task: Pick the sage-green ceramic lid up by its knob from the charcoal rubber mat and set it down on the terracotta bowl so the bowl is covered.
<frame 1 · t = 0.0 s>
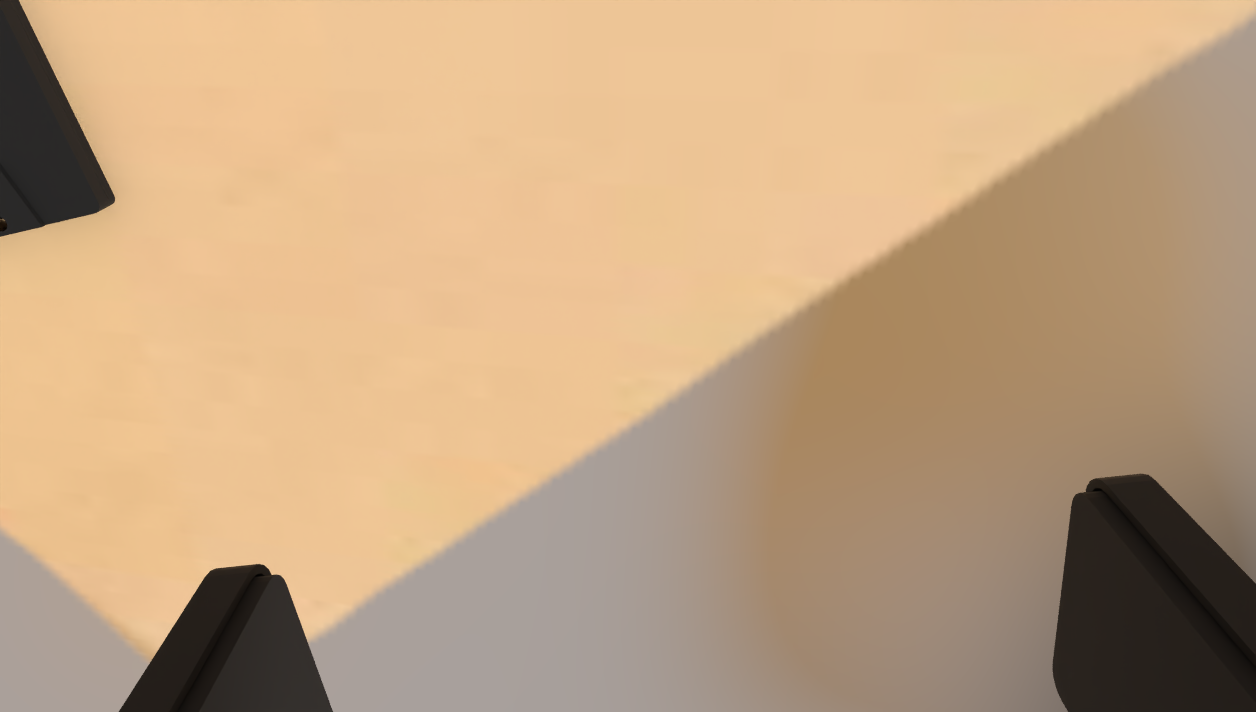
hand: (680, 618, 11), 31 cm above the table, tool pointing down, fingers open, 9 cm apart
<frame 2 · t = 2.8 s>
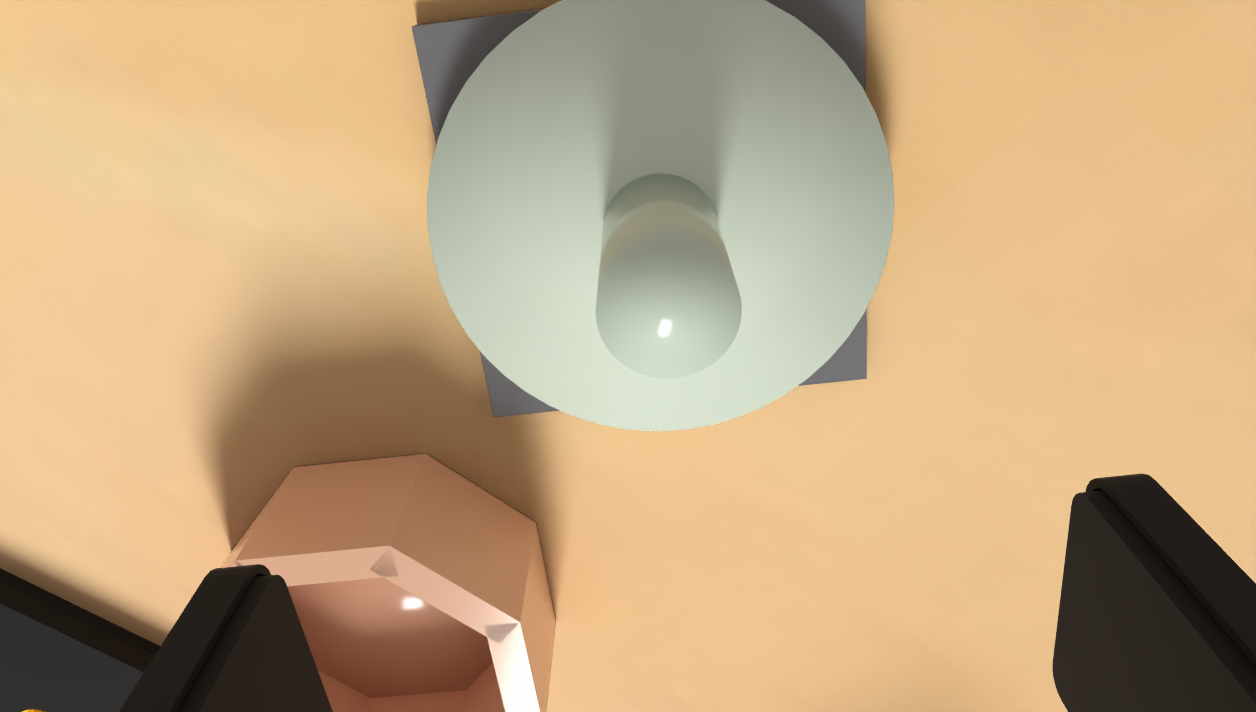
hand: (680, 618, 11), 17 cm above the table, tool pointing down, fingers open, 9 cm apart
bowl: (396, 588, 33), on the table
mat: (658, 212, 26), on the table
lid: (658, 217, 26), point 1 cm above the table, touching mat
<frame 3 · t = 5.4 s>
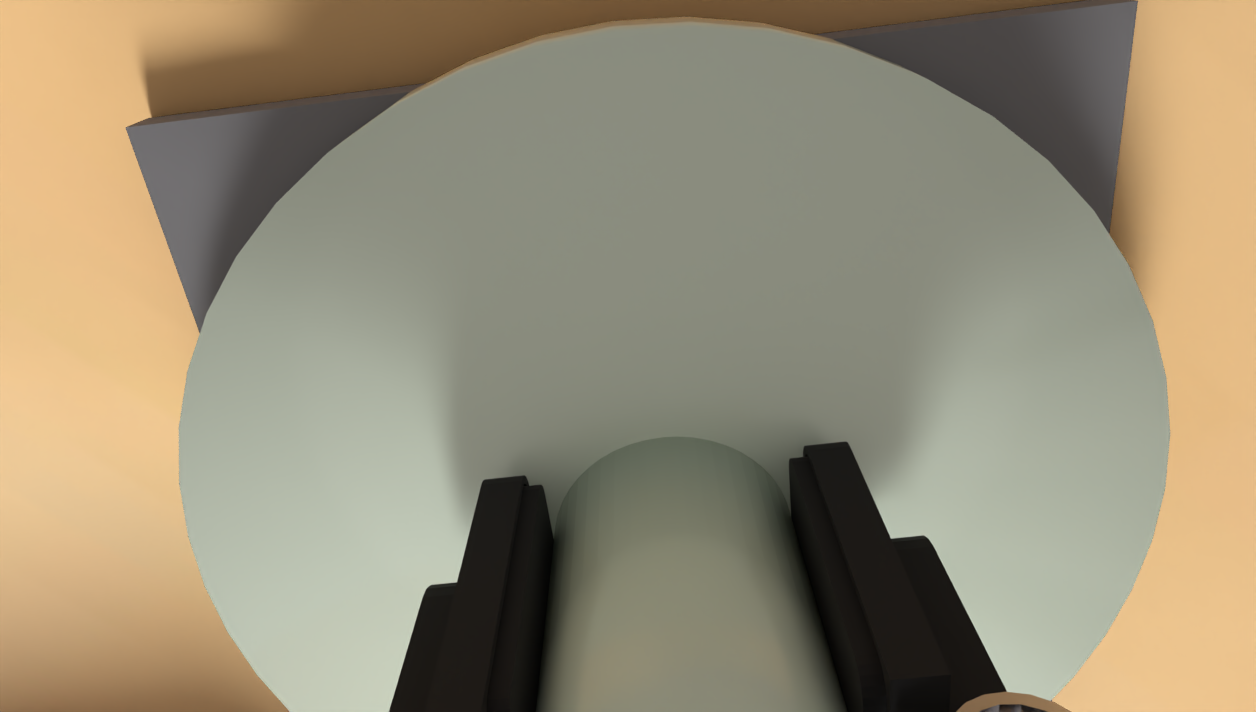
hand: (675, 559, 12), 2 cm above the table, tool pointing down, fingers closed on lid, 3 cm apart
mat: (666, 466, 14), on the table
lid: (668, 488, 13), point 1 cm above the table, touching gripper, mat
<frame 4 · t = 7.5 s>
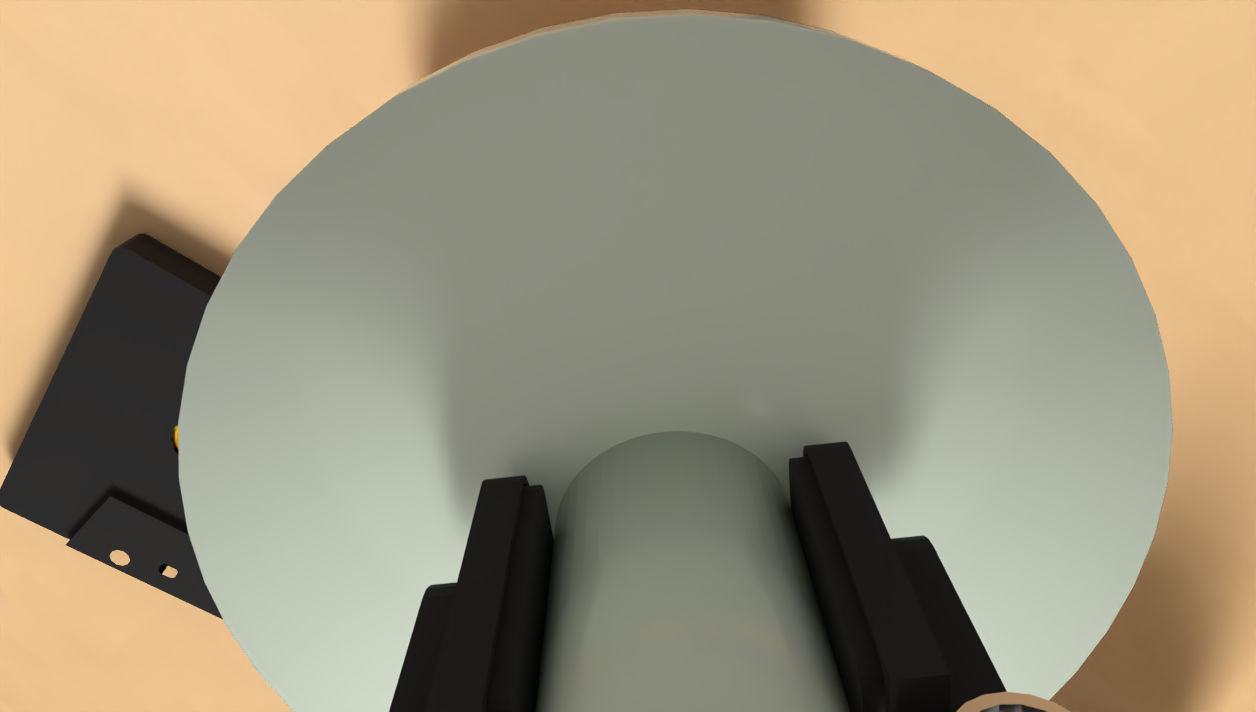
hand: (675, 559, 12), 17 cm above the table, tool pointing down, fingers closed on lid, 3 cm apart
lid: (669, 483, 13), point 16 cm above the table, touching gripper
cassette tape: (322, 480, 33), on the table
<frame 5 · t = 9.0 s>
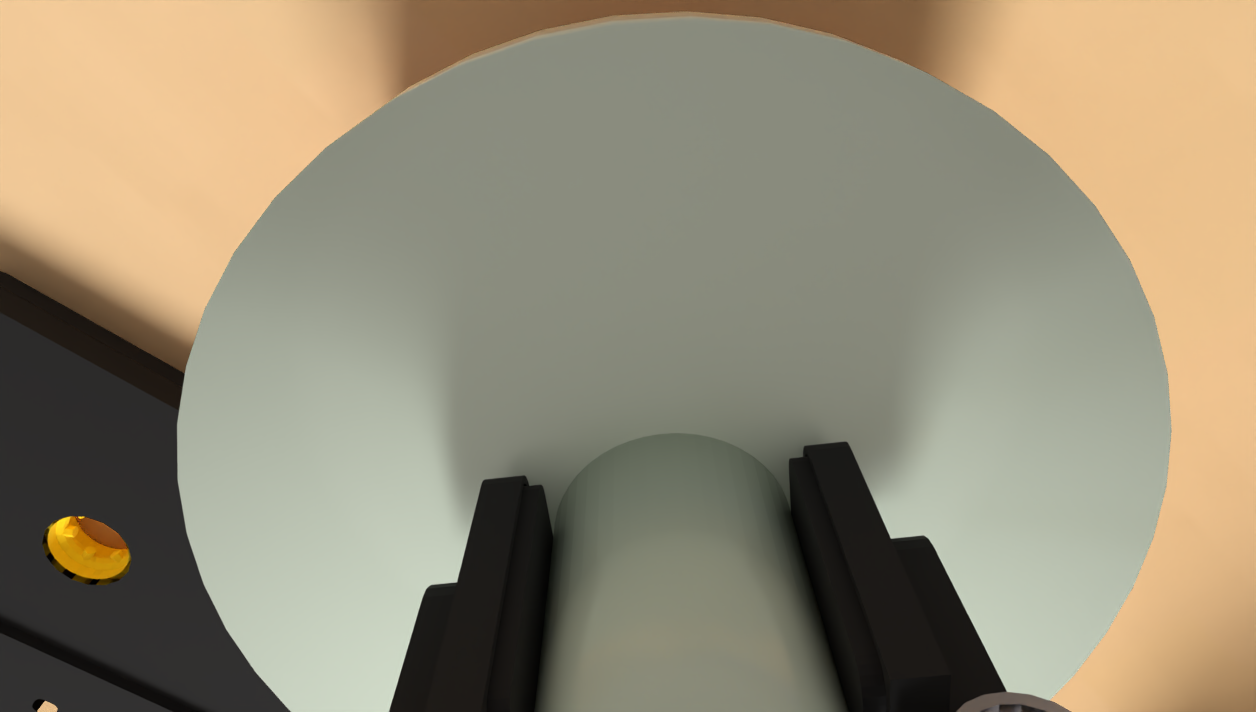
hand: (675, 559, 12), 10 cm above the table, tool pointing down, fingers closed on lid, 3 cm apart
lid: (668, 485, 13), point 8 cm above the table, touching gripper
cassette tape: (253, 586, 25), on the table
when the fingers open (8 cm above the table, at t = 10.1 s): lid stays where it is, resting on bowl.
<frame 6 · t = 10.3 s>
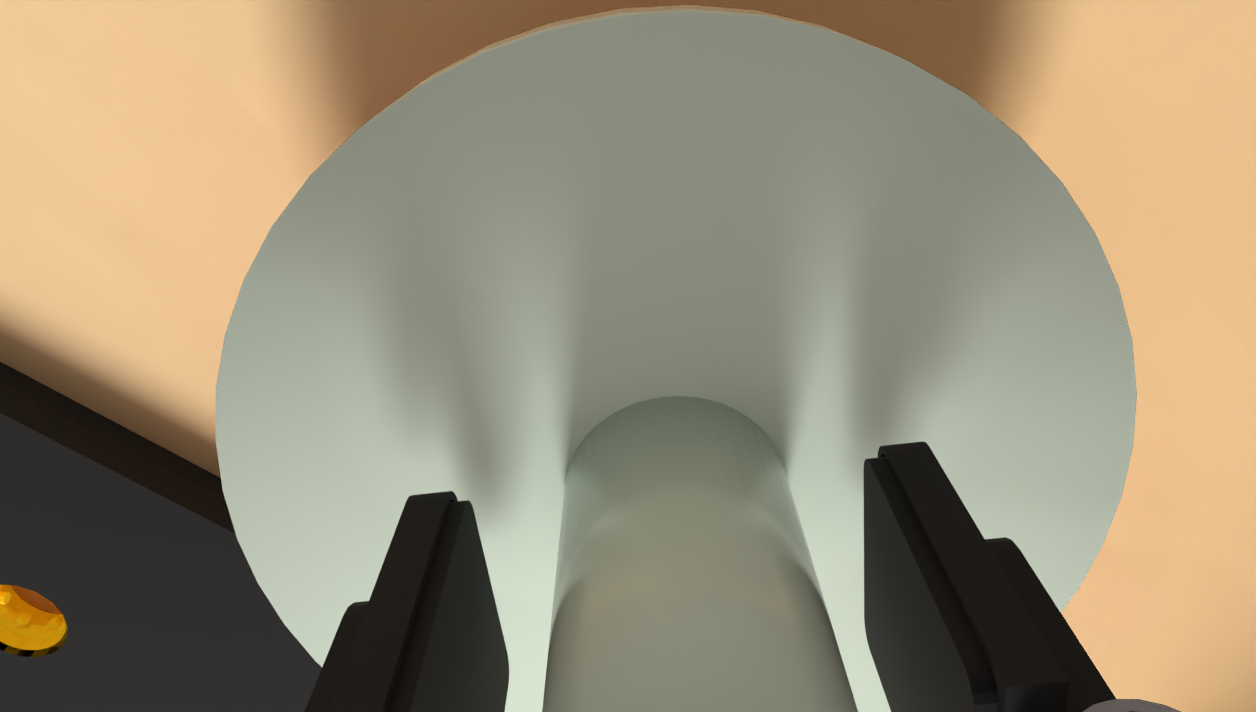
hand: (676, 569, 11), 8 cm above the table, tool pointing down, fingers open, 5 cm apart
lid: (670, 449, 14), point 5 cm above the table, touching bowl
cassette tape: (208, 649, 23), on the table
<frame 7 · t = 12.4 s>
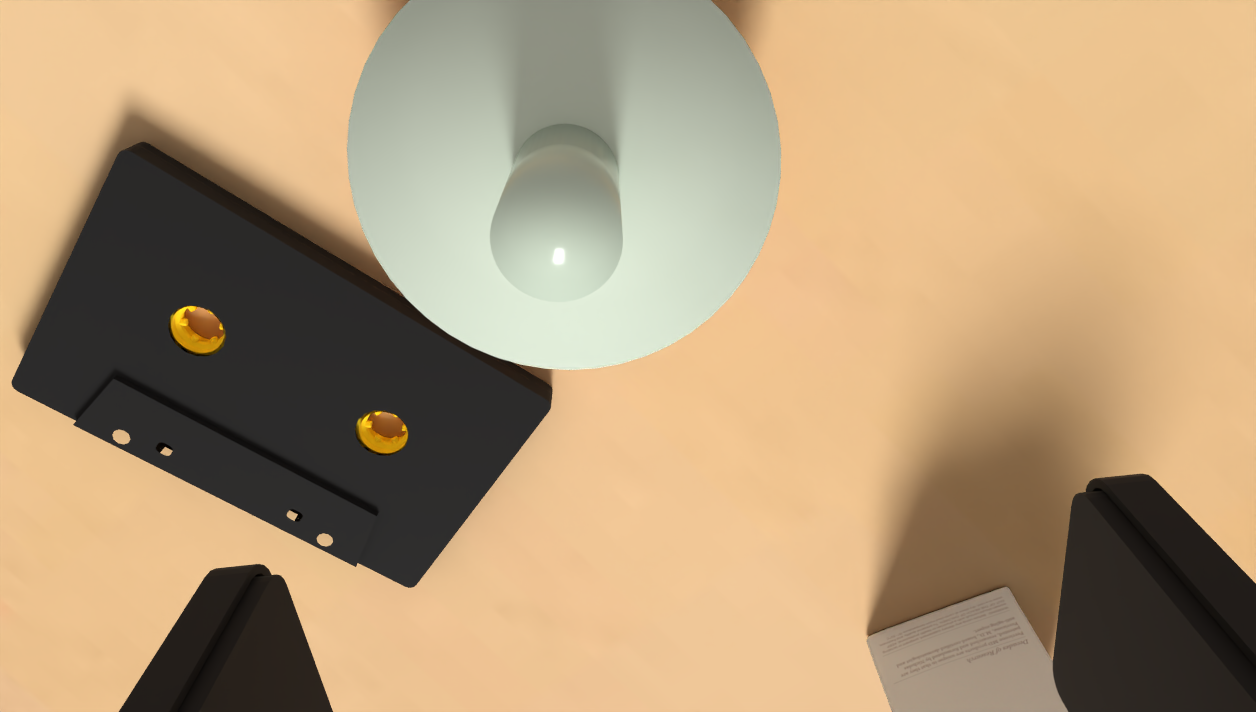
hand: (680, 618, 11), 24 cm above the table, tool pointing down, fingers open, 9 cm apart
supplement box: (953, 656, 44), on the table
lid: (567, 167, 28), point 5 cm above the table, touching bowl
cassette tape: (301, 372, 37), on the table
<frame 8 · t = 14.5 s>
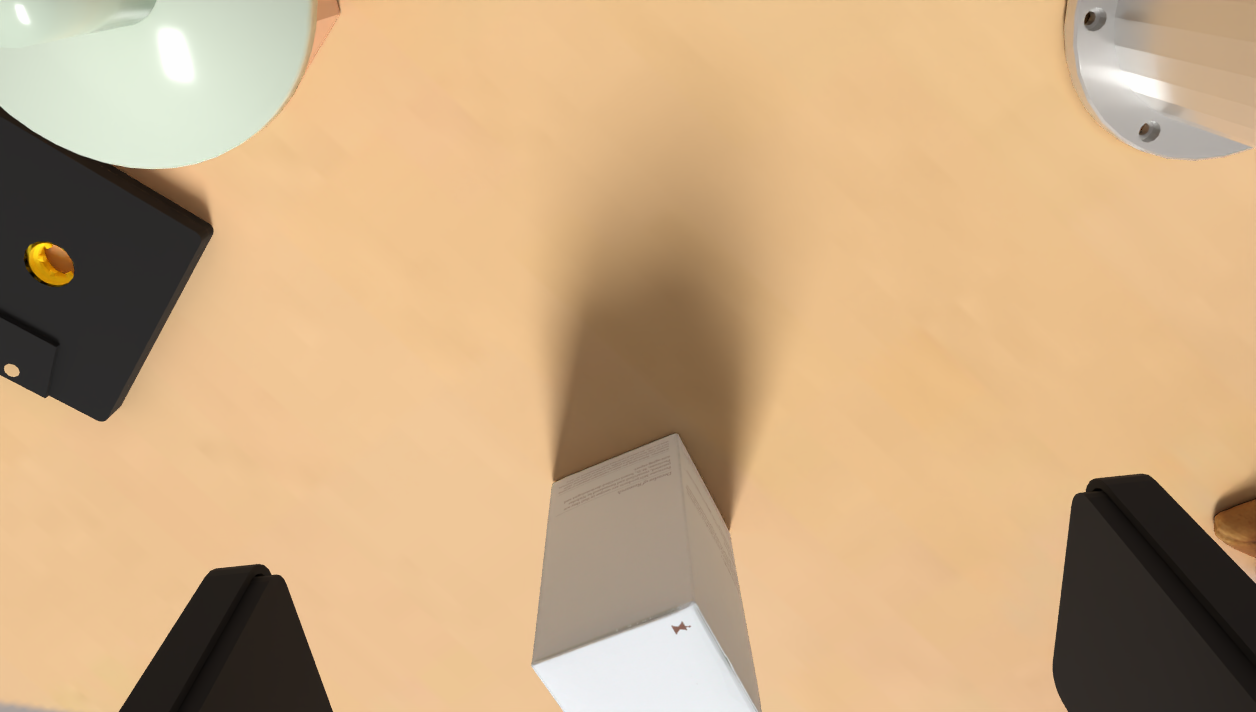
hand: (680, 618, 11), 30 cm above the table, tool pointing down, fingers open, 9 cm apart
supplement box: (642, 506, 47), on the table
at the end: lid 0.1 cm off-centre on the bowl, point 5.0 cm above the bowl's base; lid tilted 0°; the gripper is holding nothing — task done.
